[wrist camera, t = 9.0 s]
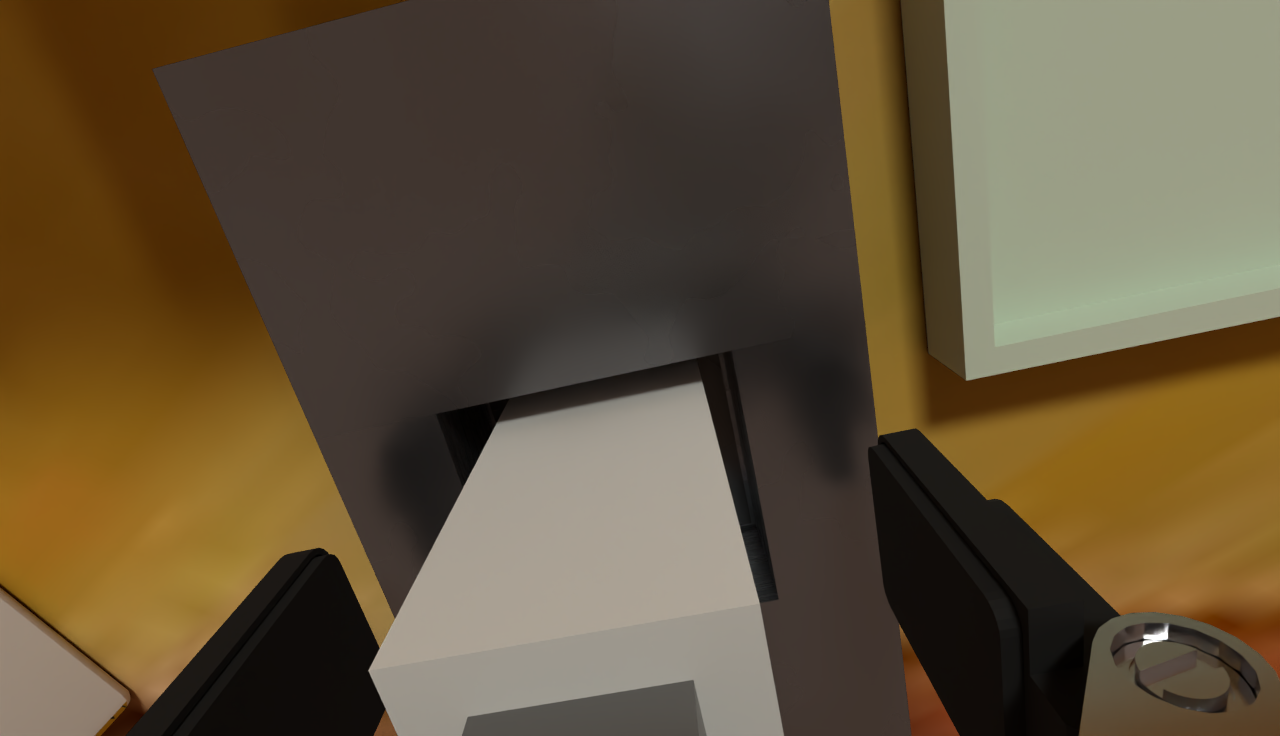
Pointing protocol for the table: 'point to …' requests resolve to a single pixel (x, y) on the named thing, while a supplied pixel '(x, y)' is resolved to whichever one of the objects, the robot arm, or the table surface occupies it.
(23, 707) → the medicine bottle
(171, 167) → the table surface
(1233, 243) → the tray
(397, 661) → the plug
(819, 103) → the grey piece
